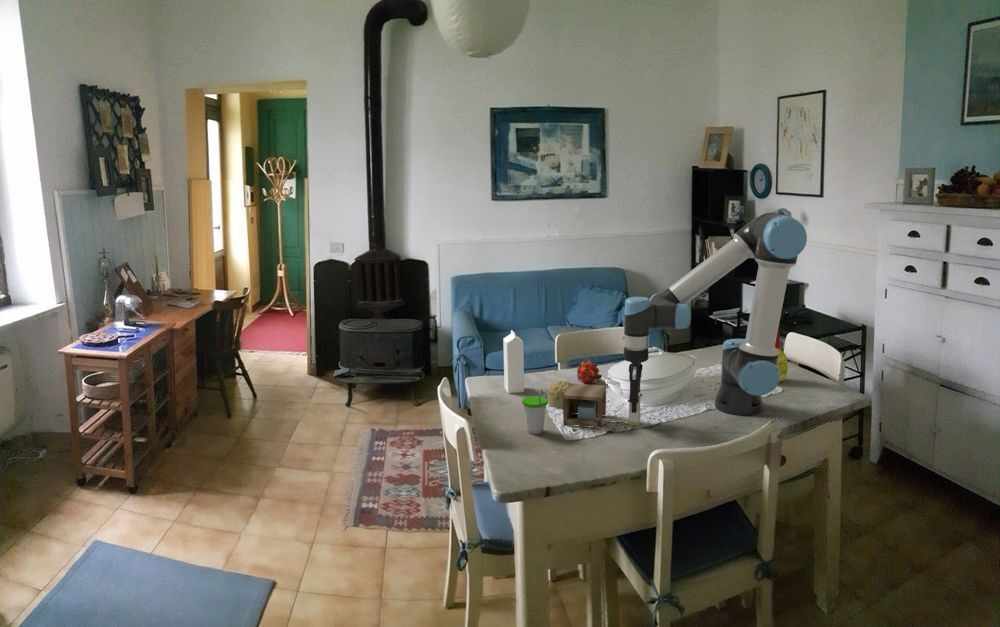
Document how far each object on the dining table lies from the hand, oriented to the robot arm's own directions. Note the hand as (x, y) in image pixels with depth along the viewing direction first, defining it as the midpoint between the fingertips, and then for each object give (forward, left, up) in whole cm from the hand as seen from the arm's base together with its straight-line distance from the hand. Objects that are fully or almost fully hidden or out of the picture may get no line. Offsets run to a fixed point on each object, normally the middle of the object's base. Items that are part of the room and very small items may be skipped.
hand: (634, 418), depth 219 cm
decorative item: (+26, -13, -2) cm, 29 cm away
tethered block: (+8, 0, -2) cm, 8 cm away
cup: (+29, +13, -2) cm, 32 cm away
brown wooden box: (+16, 0, -2) cm, 16 cm away
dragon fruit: (+20, -37, -2) cm, 42 cm away
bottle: (-45, -50, -2) cm, 68 cm away
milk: (+45, -23, -2) cm, 50 cm away
